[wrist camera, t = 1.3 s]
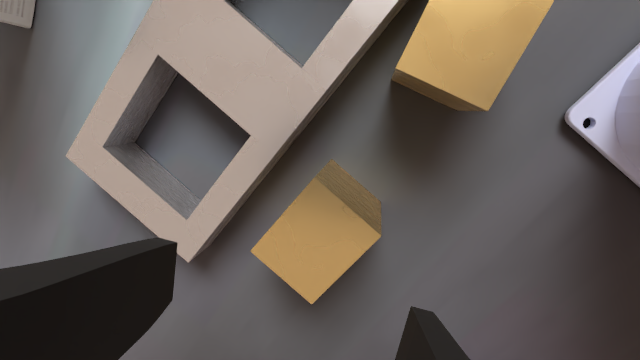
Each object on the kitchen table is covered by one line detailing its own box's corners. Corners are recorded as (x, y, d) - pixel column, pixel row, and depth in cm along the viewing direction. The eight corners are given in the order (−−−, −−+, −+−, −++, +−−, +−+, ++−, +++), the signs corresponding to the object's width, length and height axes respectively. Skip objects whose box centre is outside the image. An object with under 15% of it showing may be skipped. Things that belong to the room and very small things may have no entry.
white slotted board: (446, -47, 15) (458, -75, 13) (209, 245, 20) (188, 262, 18) (298, -177, 15) (283, -230, 13) (101, 150, 20) (65, 156, 18)
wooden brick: (507, 20, 15) (566, -20, 10) (456, 110, 16) (487, 111, 12) (436, -11, 15) (462, -66, 11) (391, 80, 17) (395, 67, 12)
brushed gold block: (380, 201, 18) (381, 236, 13) (328, 255, 19) (311, 304, 14) (331, 158, 18) (314, 177, 13) (282, 215, 19) (250, 251, 14)
